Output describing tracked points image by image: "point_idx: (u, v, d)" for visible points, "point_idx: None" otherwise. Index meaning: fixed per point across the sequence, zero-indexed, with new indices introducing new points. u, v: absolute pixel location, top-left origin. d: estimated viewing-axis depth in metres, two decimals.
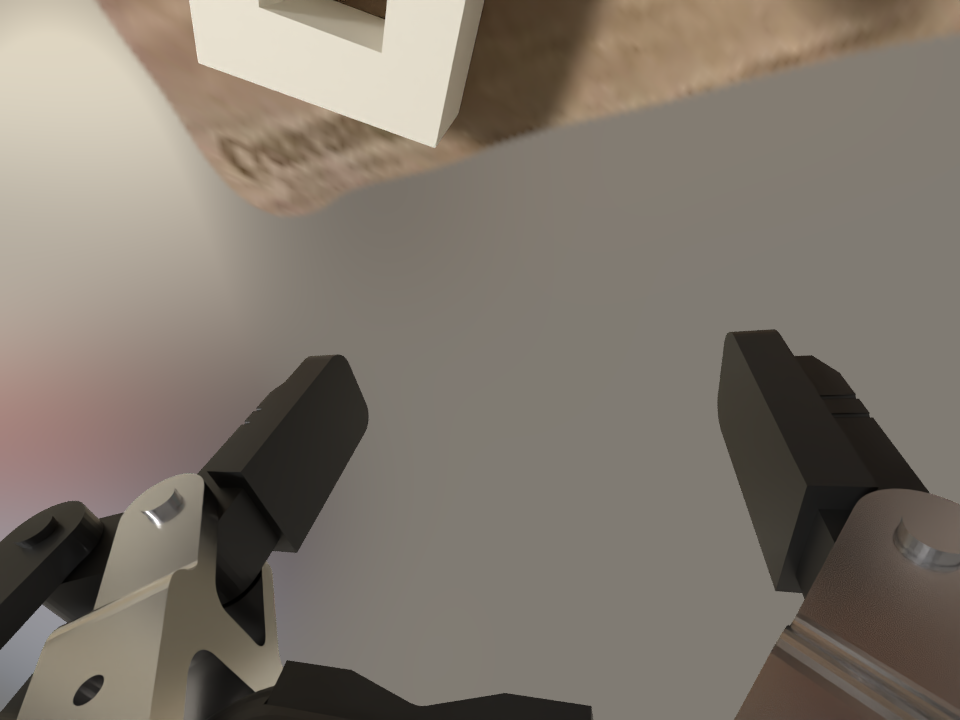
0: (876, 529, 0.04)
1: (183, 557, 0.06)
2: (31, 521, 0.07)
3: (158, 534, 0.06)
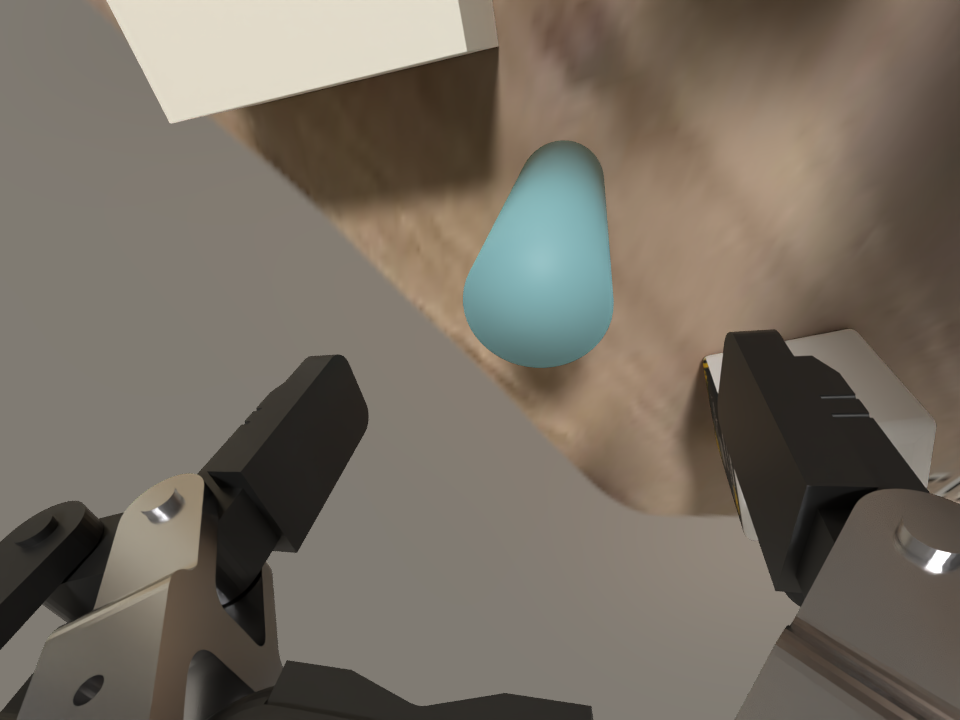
0: (876, 529, 0.04)
1: (183, 557, 0.06)
2: (31, 522, 0.07)
3: (158, 533, 0.06)
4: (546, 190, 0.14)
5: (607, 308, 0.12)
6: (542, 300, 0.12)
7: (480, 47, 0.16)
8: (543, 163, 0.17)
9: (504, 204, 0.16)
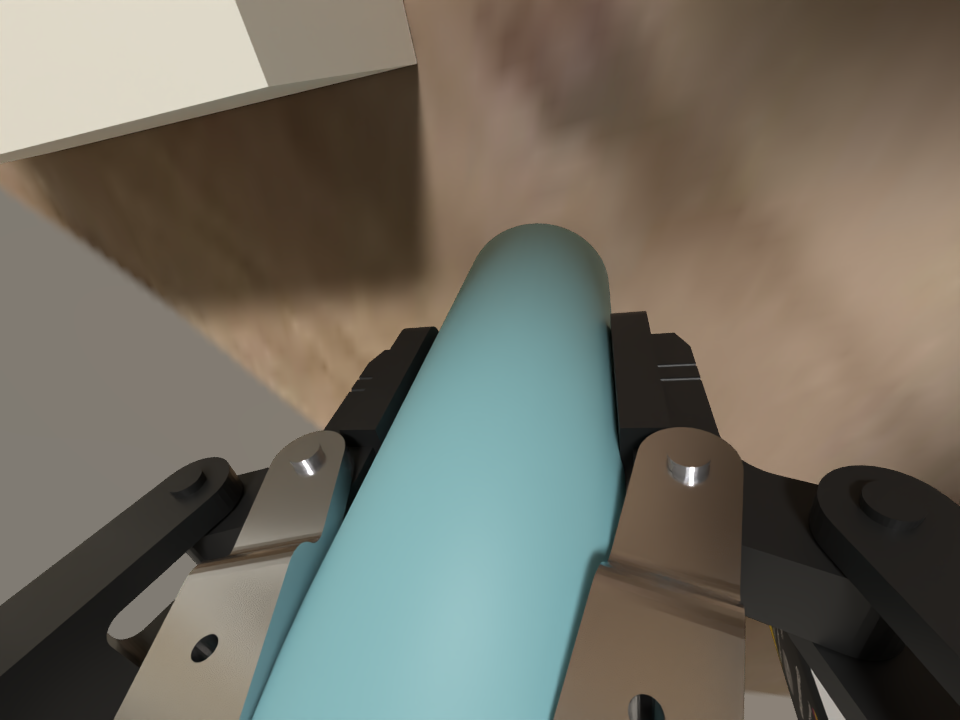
0: (652, 455, 0.06)
1: (311, 523, 0.06)
2: (185, 471, 0.07)
3: (297, 487, 0.07)
4: (470, 446, 0.05)
5: None
6: None
7: (344, 71, 0.07)
8: (492, 297, 0.09)
9: (401, 407, 0.07)
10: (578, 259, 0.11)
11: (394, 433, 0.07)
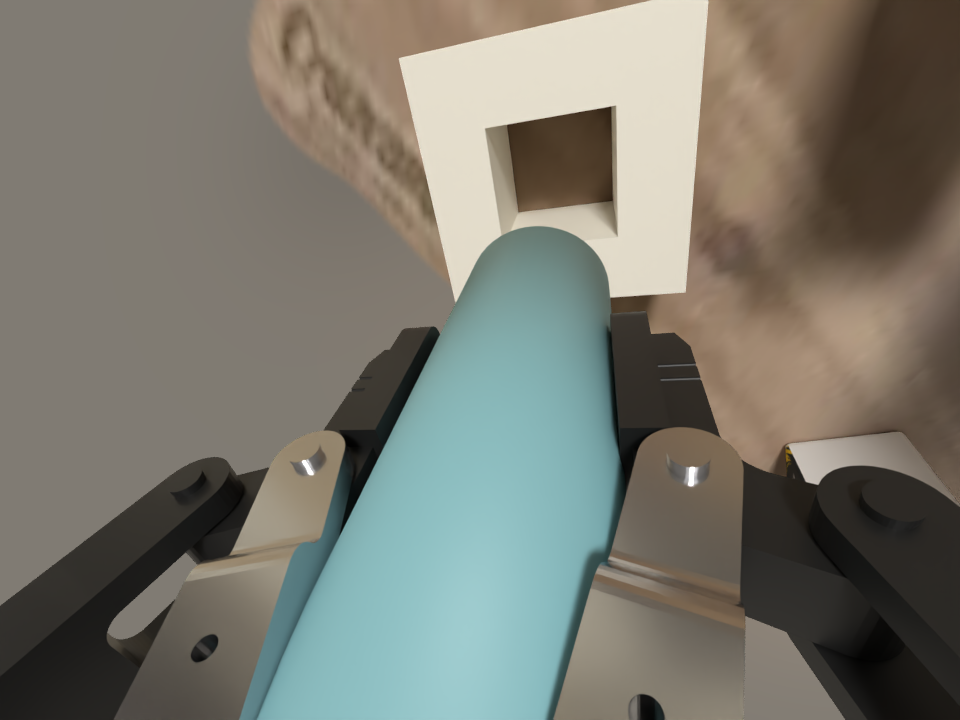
0: (652, 455, 0.06)
1: (311, 523, 0.06)
2: (186, 472, 0.07)
3: (297, 488, 0.07)
4: (472, 450, 0.05)
5: None
6: None
7: None
8: (493, 300, 0.09)
9: (403, 409, 0.08)
10: (579, 262, 0.11)
11: (396, 436, 0.07)
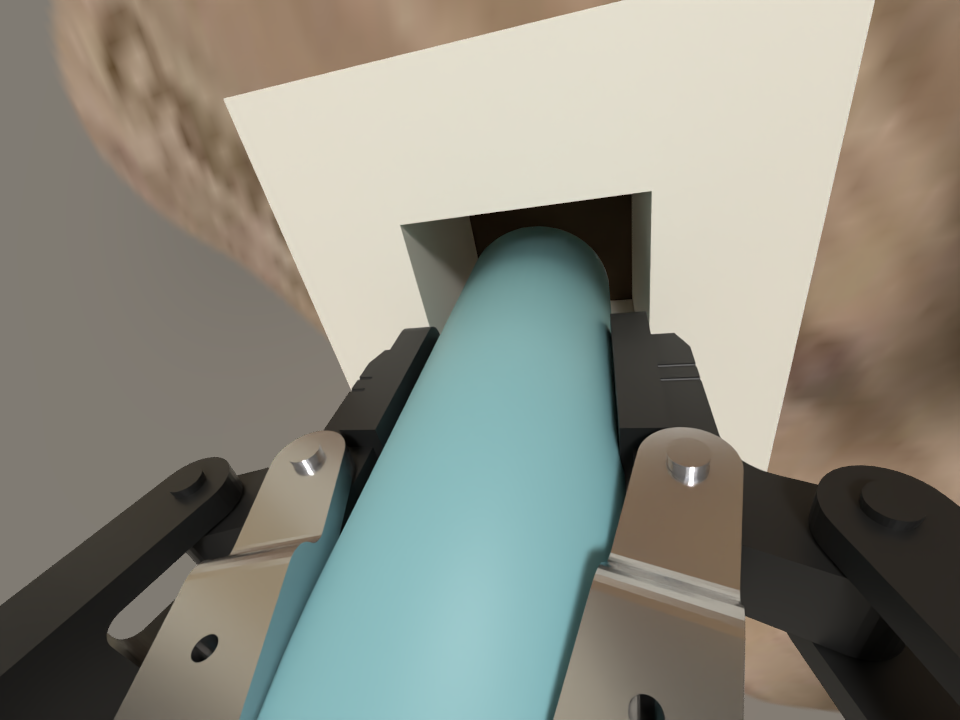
0: (651, 455, 0.06)
1: (312, 523, 0.06)
2: (186, 472, 0.07)
3: (297, 487, 0.07)
4: (472, 450, 0.05)
5: None
6: None
7: None
8: (493, 301, 0.09)
9: (403, 409, 0.08)
10: (578, 262, 0.11)
11: (396, 436, 0.07)
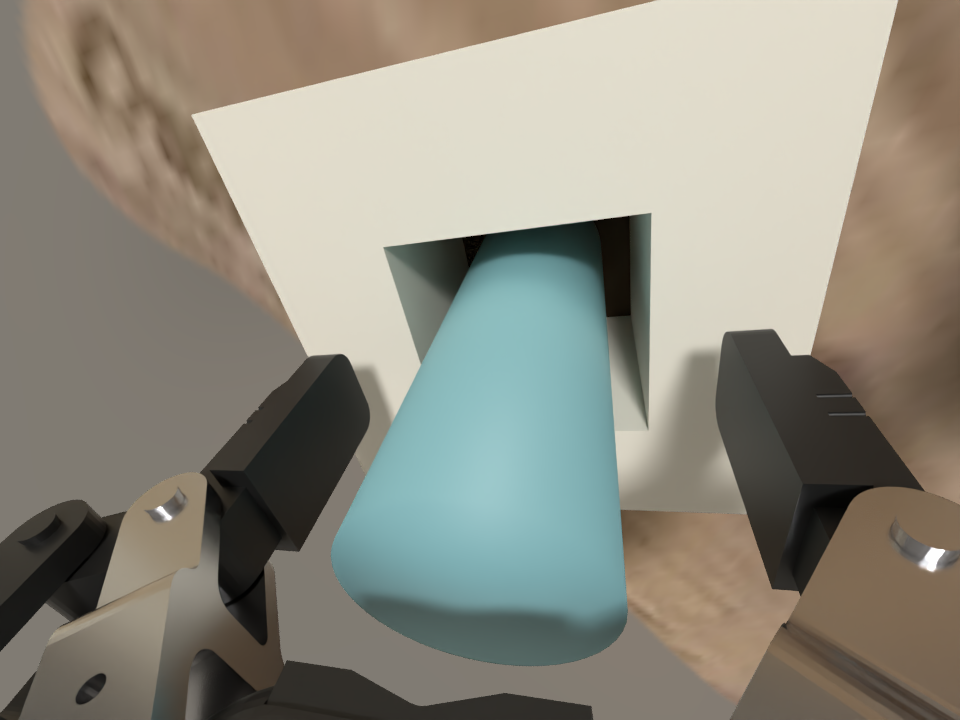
0: (871, 527, 0.04)
1: (185, 556, 0.06)
2: (34, 520, 0.07)
3: (160, 532, 0.06)
4: (503, 322, 0.08)
5: (614, 616, 0.06)
6: (484, 590, 0.06)
7: None
8: (509, 243, 0.11)
9: (444, 318, 0.10)
10: None
11: (444, 327, 0.09)
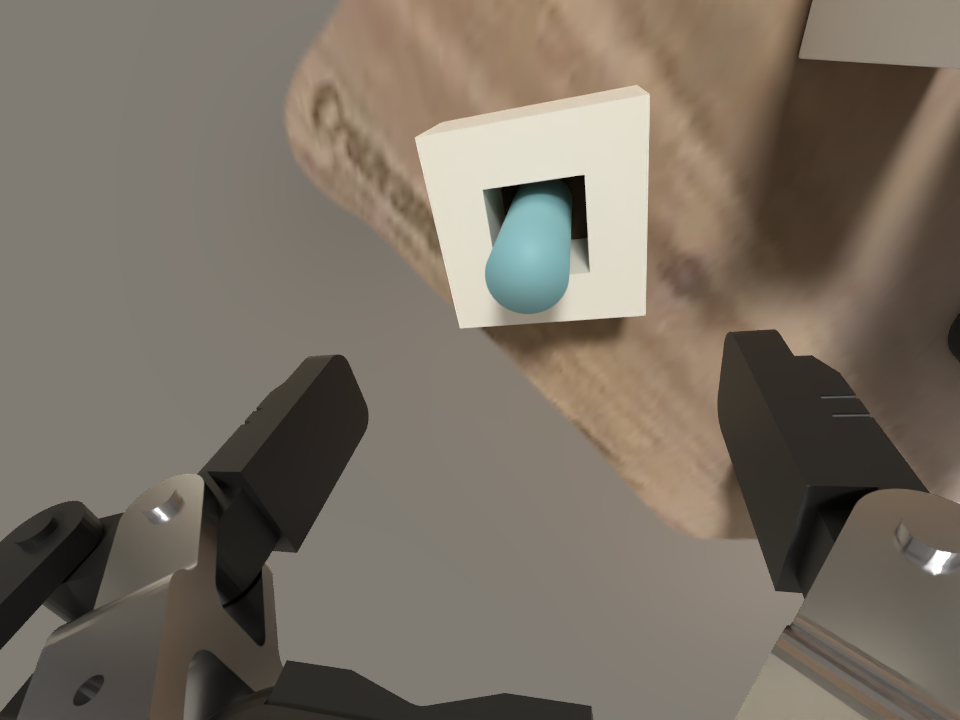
0: (876, 529, 0.04)
1: (183, 557, 0.06)
2: (31, 521, 0.07)
3: (157, 533, 0.06)
4: (532, 209, 0.23)
5: (566, 276, 0.21)
6: (530, 272, 0.21)
7: None
8: (530, 191, 0.27)
9: (506, 217, 0.25)
10: (559, 184, 0.29)
11: (508, 216, 0.24)
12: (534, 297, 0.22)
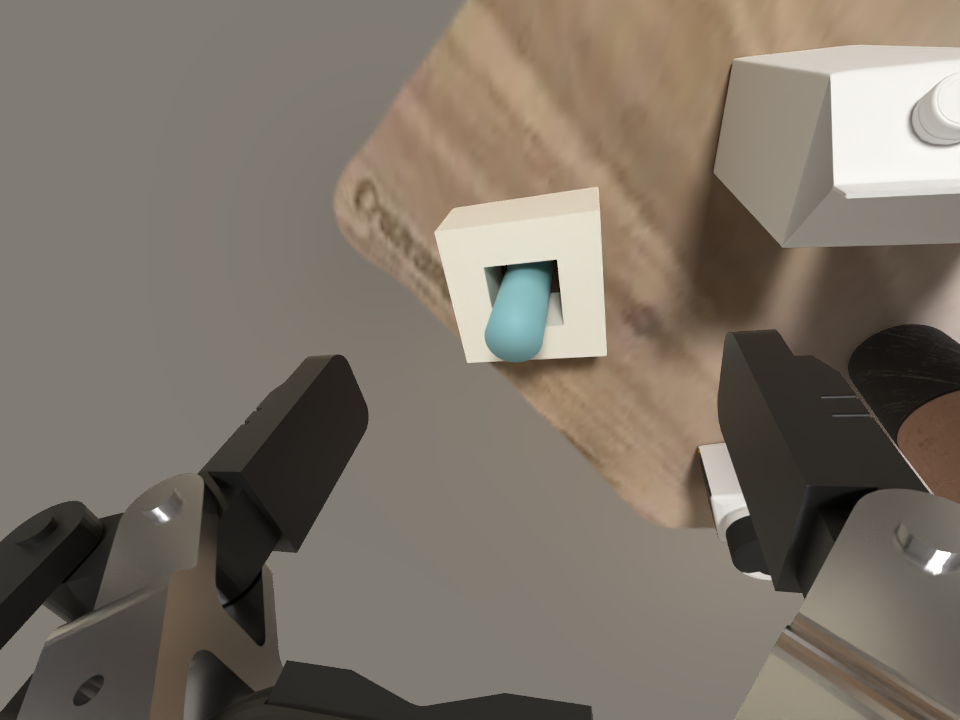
0: (876, 529, 0.04)
1: (183, 557, 0.06)
2: (31, 521, 0.07)
3: (157, 533, 0.06)
4: (518, 286, 0.33)
5: (540, 339, 0.30)
6: (515, 335, 0.31)
7: None
8: (519, 265, 0.36)
9: (500, 287, 0.35)
10: None
11: (502, 289, 0.34)
12: (519, 351, 0.31)
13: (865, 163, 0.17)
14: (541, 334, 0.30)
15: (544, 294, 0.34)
